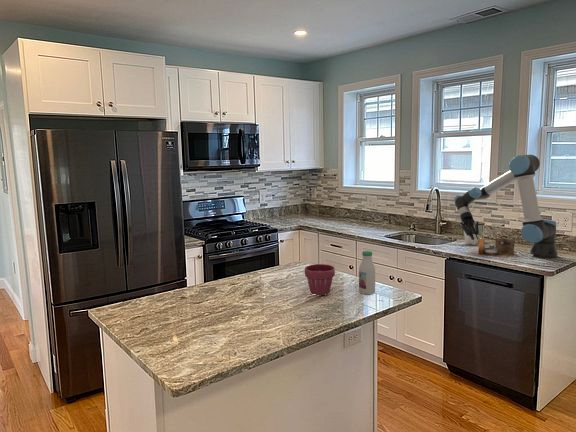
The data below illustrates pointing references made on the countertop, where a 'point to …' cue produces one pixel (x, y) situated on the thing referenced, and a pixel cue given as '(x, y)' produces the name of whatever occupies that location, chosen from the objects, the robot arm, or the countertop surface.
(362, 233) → the countertop surface
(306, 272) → the plant pot
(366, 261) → the milk bottle
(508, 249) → the stand
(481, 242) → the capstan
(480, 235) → the glass jar
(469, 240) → the cup
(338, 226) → the countertop surface
